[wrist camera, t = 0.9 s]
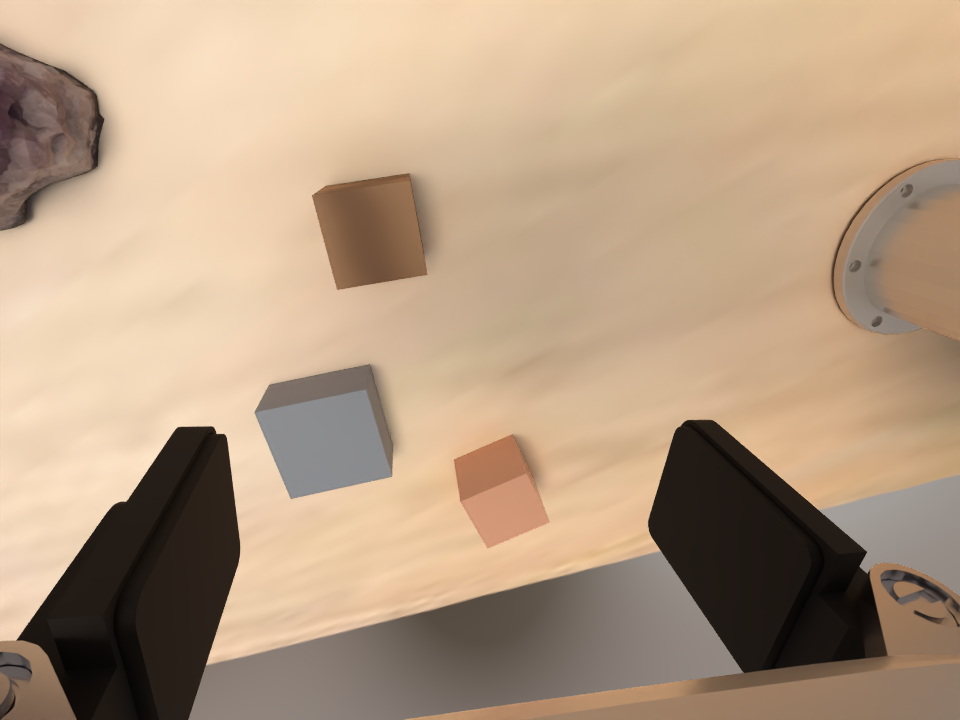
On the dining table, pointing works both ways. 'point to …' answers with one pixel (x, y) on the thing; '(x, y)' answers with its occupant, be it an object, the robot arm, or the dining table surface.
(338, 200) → the walnut cube
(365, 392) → the blue-grey square box
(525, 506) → the terracotta cube
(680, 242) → the dining table surface
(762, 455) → the dining table surface
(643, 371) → the dining table surface
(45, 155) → the geode
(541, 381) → the dining table surface
